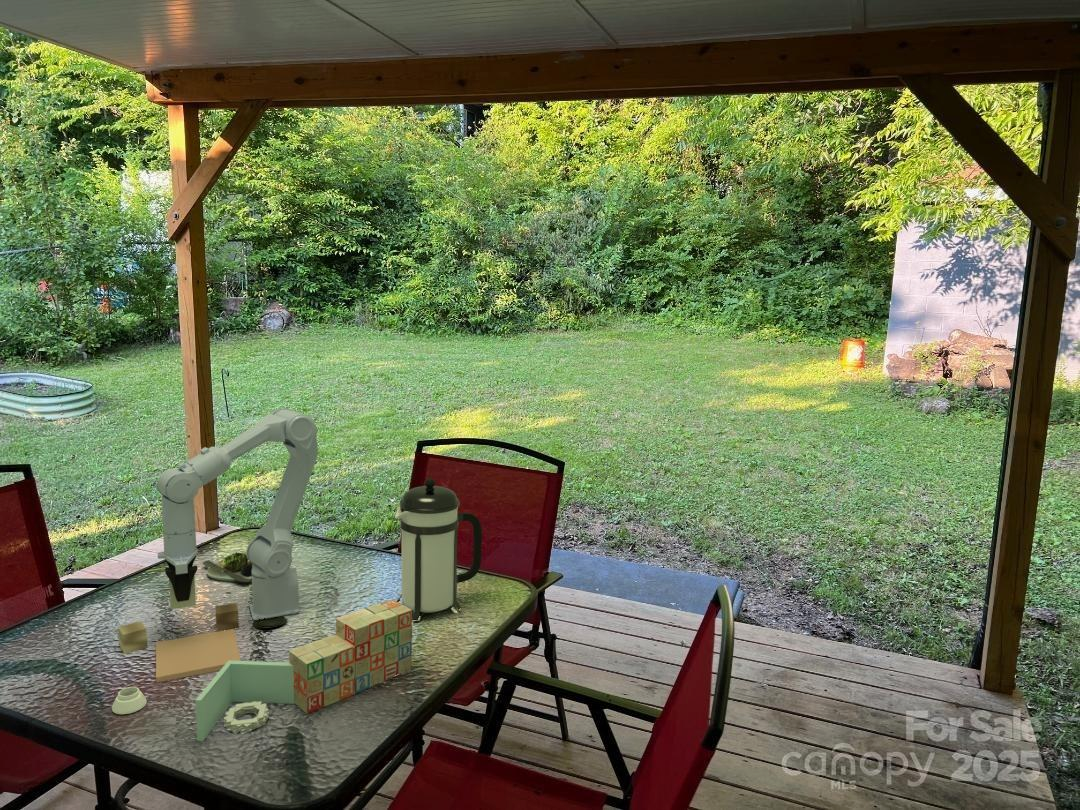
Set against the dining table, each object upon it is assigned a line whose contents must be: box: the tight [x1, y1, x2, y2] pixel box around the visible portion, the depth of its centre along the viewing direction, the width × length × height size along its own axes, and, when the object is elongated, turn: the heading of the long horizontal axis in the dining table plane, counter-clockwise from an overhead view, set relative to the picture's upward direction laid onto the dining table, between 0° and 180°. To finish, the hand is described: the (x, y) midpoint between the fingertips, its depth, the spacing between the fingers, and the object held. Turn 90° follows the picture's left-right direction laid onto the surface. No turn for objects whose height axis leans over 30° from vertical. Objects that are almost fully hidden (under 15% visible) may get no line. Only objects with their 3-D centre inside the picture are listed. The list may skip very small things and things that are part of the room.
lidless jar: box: [111, 686, 147, 715], centre depth 122 cm, size 5×3×5 cm
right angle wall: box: [194, 660, 296, 742], centre depth 119 cm, size 12×12×8 cm
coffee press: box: [394, 477, 483, 620], centre depth 161 cm, size 17×16×30 cm
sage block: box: [168, 575, 197, 610], centre depth 145 cm, size 4×4×6 cm
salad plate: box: [202, 551, 252, 584], centre depth 179 cm, size 19×18×5 cm
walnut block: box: [215, 602, 240, 632], centre depth 151 cm, size 4×4×4 cm
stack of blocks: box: [288, 599, 413, 714], centre depth 130 cm, size 21×6×12 cm, turn 136°
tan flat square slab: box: [155, 629, 242, 683], centre depth 139 cm, size 14×14×1 cm
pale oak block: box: [117, 621, 148, 655], centre depth 141 cm, size 4×4×4 cm
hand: (182, 595), depth 145 cm, fingers closed on sage block, 4 cm apart
